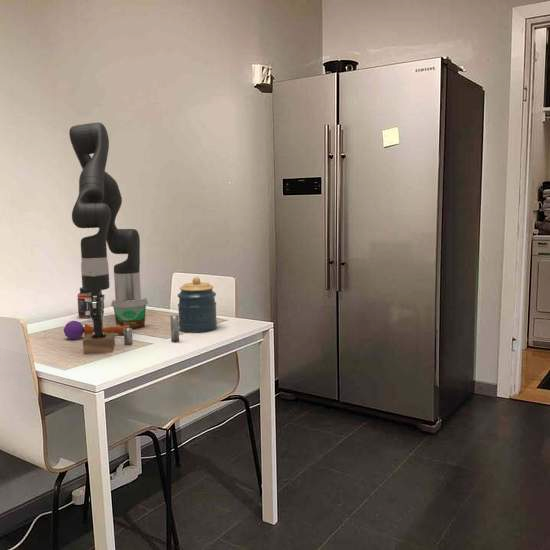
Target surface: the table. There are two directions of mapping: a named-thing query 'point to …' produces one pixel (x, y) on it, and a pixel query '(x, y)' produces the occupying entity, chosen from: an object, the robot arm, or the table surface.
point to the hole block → (98, 343)
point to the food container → (130, 313)
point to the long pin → (100, 335)
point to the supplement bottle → (84, 304)
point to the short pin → (128, 336)
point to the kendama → (88, 329)
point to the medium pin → (174, 328)
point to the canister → (197, 307)
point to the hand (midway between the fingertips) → (98, 331)
